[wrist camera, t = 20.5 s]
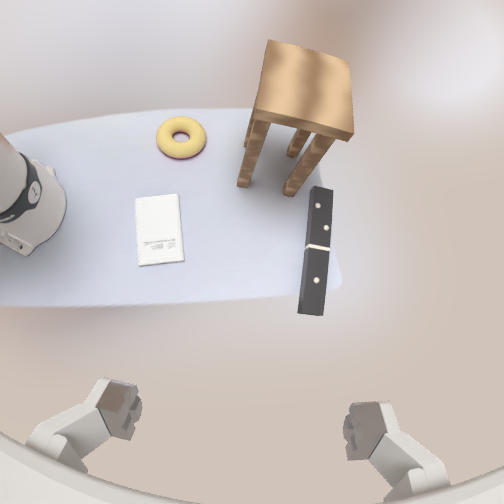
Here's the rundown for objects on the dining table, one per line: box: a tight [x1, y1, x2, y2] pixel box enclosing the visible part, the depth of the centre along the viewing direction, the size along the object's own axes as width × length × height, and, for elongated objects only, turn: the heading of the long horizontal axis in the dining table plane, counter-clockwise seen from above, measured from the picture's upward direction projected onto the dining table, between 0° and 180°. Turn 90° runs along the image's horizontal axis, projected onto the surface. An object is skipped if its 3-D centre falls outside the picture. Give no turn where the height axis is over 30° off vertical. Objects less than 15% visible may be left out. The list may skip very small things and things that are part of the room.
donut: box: [156, 117, 206, 158], centre depth 57 cm, size 10×5×9 cm
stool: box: [237, 40, 354, 197], centre depth 47 cm, size 12×14×26 cm
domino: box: [298, 186, 333, 316], centre depth 56 cm, size 4×24×3 cm, turn 172°
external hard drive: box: [135, 193, 184, 266], centre depth 54 cm, size 2×8×12 cm
